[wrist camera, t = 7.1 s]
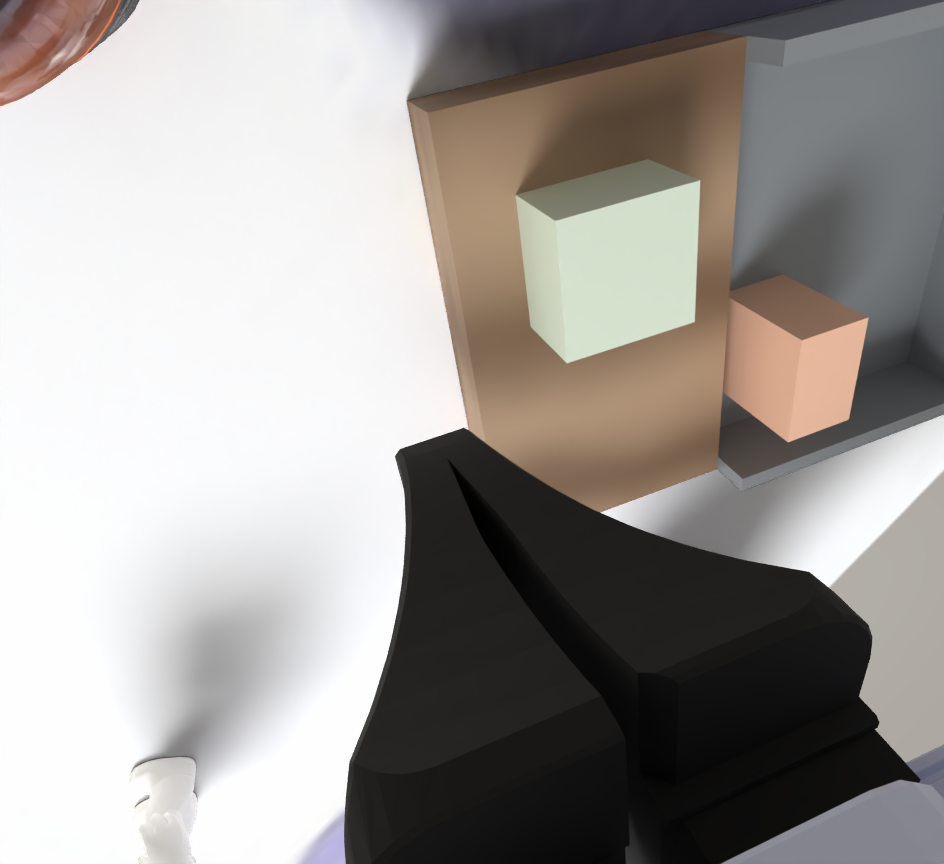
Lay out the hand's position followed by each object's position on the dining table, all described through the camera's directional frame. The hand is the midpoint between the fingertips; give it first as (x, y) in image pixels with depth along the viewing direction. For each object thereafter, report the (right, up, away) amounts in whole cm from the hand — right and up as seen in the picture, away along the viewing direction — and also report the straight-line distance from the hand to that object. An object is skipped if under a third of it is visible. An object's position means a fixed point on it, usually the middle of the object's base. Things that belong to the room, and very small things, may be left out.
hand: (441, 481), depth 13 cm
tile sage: (+4, +6, +8) cm, 11 cm away
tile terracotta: (+10, +3, +12) cm, 16 cm away
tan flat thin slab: (+4, +5, +11) cm, 13 cm away
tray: (+13, +8, +13) cm, 20 cm away
